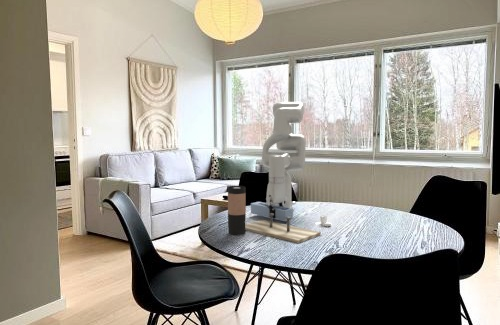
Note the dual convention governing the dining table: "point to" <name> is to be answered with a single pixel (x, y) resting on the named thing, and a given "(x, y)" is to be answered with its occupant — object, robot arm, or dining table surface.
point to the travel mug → (236, 210)
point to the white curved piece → (323, 221)
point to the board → (281, 230)
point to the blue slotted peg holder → (280, 211)
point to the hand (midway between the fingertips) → (276, 215)
